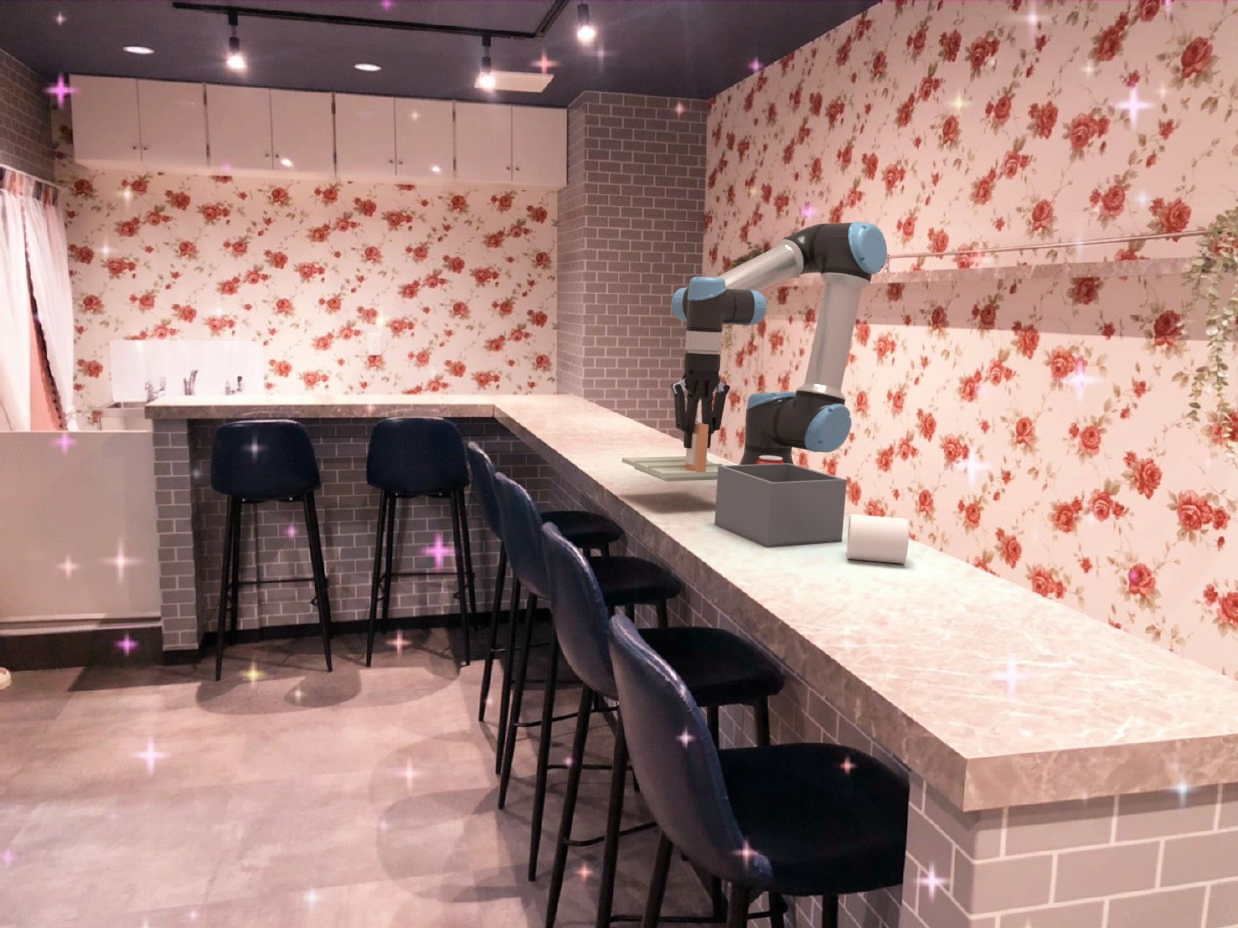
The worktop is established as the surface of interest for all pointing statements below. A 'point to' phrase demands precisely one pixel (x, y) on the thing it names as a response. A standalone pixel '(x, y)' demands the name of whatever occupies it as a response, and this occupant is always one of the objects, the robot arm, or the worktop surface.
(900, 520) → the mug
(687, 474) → the lid
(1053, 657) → the worktop surface
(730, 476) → the tub
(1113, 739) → the worktop surface
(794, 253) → the robot arm
